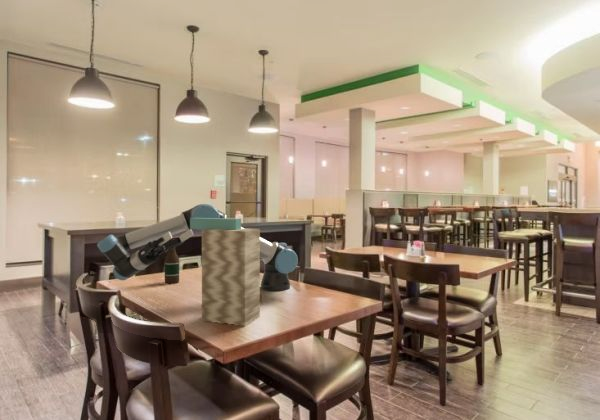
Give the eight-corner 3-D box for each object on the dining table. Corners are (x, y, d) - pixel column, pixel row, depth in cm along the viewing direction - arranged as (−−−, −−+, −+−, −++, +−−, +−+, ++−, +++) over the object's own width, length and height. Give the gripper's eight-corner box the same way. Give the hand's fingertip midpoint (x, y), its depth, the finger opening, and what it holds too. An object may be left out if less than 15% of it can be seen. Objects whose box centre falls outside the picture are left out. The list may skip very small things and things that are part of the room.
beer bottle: (174, 284, 205) (174, 239, 204) (161, 283, 206) (161, 239, 206) (182, 281, 212) (182, 238, 212) (169, 280, 214) (169, 237, 213)
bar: (190, 228, 149) (190, 218, 149) (196, 227, 153) (196, 217, 153) (235, 230, 143) (235, 219, 143) (241, 229, 146) (241, 218, 146)
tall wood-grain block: (202, 320, 144) (201, 229, 143) (219, 312, 155) (219, 227, 154) (245, 326, 138) (245, 231, 137) (259, 316, 149) (259, 229, 148)
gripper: (168, 260, 171) (203, 238, 164) (125, 270, 147) (164, 245, 141) (161, 245, 172) (196, 223, 165) (117, 253, 148) (156, 227, 142)
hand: (181, 233), depth 153 cm, fingers open, 13 cm apart
